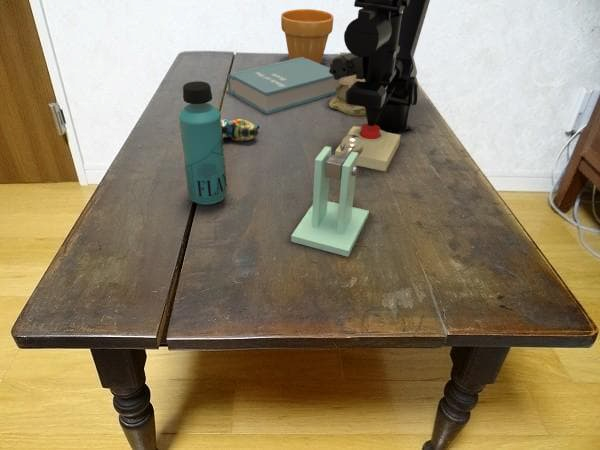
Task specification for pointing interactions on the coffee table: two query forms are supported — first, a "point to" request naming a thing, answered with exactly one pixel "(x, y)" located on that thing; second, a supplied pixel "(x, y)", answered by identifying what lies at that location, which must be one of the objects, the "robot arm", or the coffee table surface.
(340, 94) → the ceramic model
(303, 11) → the flower pot
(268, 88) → the book
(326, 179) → the bracket
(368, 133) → the button
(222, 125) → the figurine
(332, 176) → the lever
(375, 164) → the button block
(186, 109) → the beverage bottle
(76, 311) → the coffee table surface
